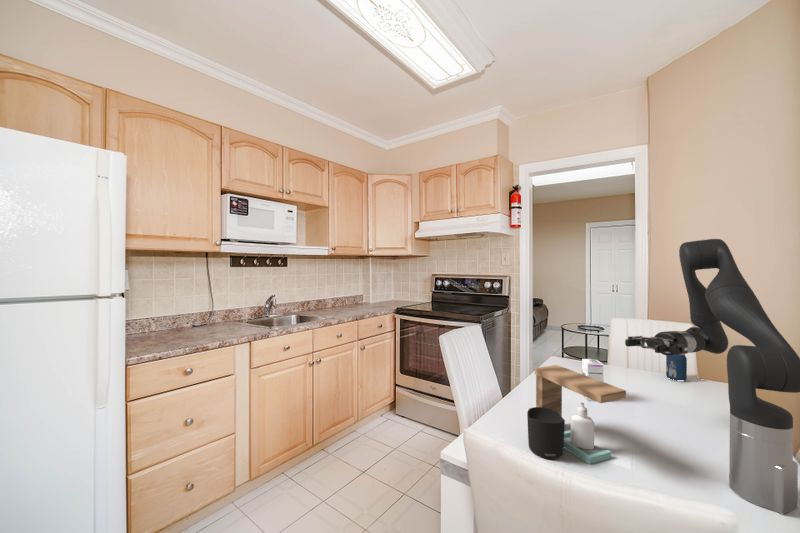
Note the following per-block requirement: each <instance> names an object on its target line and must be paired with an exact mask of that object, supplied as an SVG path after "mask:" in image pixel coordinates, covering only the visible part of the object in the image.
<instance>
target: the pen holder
mask: <svg viewBox="0 0 800 533" xmlns="http://www.w3.org/2000/svg"><path fill="white" fill-rule="evenodd" d="M526 416H527V437H528V439H527V440H528V448H529V450H530V451H531V452H532V453H533V454H534V455H536V456H538V457H540V458H543V459H544V460H545V459H546V460H551V461H552V460H558V459H560V458H561V457H563V454H564V432H565V425H566V424H565V422H566V421H565V420H566V419H564V418H563V416H562V417H561V415H560V414H559V413H558V412H556V411H555V410H552V409H549V408H544V407H536V406H534V407H530V408H528V410H527V415H526Z"/></svg>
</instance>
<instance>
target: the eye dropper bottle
mask: <svg viewBox="0 0 800 533" xmlns="http://www.w3.org/2000/svg"><path fill="white" fill-rule="evenodd" d="M576 409H577V414H573V415H571V417H570V430H571V443H572V445H574V446H575V447H578V448H583V449H594V445H595V422H594V420H593V418H591V416H590V417H589V416H588V408H587V407H585V403H584V402H580V404H579V406H577V408H576Z"/></svg>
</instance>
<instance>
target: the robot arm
mask: <svg viewBox="0 0 800 533" xmlns="http://www.w3.org/2000/svg"><path fill="white" fill-rule="evenodd" d="M678 249H679V250H678V251H679V252H678V254H679V262H680V266H681V272H682V276H683V281H684V285H685V288H686V292H687V297H688V302H689V315H690V316H689V317H690V322H691V324H692V325H693V326H692V327H689V328H687V329H685V330H669V331H668V330H667V331H666V330H665V331H660V332H657V333H656V334H655V335H654V336H643V335H637V336H635V335H633V336H630V335H629V336H628V337H627V338H626V339H625V340H624V344H625V346H626V347H640V348H642V349H648V350H649V349H650V350H653V351H654V352H655V353H656V354H662V355H664V356H666V355H667V356H673V355H682V354H685V355H686V354H690V353H692V354H693V353H697V352H701V351H705V352H708V353H711V354H716V355H720V354H723V353H724V352H726V351H727V349H728V348H729V349H728V351H727V355H726V372H727V383H728V384H727V385H728V386H727V388H728V389H727V390H728V391H727V392H728V400H729V401H728V402H729V455H728V456H729V461H728V463H729V465H728V467H729V470H728V471H729V474H728V476H729V477H728V480H729V483H728V484H729V488H730V489H731V491H733V492H734V494H736V495H738V496H739V497H740V498H742V499H744V500H746V501H748V502H749V503H752V504H754V505H757V506H760V507H762V508H765V509H768V510H771V511H774V512H777V513H778V514H781V515H784V514H787V513H788V512H791V511H793V510H794V509H796V508H798V498H799V497H798V486H799V485H798V484H799V483H798V480H799V479H798V478H799V476H798V475H799V474H798V473H799V472H798V471H799V467H798V466H799V465H798V462H797V461H794V460H793V459H794V457H793V456H794V417H793V415H792V413H791V412H790V411H788V410H787V409H785V408H783V407H782V406H779V405H778V404H775V403H771V402H769V401H766V400H765V399H761V398H760V397H758V394H757V390H763V391H764V390H766V391H771V392H778V393H779V392H780V393H791V394H794V393H795V394H797V393H800V356H799V355H798V354H797V351H795V349H794V348H793V347H792V346H791V344H790V343H789V342H788V341H787V340H786V339H785V338H784V336H783V335H782V333H781V332H780V331H779V330H778V329H777V327H776V326H775V325H774V323H773V322H772V321H771V318H770V317H769V315H768V314H767V313H766V311H765V309H764V308H763V306H762V304H761V302H760V300H759V299H758V298H757V296H756V294H755V292H754V291H753V289H752V288H751V286H750V285H749V284H748V282H747V280H746V279H745V277H744V276H743V275H742V273H741V271H740V269H739V267H738V265H737V263H736V261H735V259H734V257H733V253H732V252H731V250H730V248H729V245H728V244H727V243H726V242H725V241H724V240H723V239H720V238H709V239H701V240H693V241H692V240H691V241H686V242H683V243H681V244H680V245H679V248H678ZM711 269H718V272H717V274H716V275H715V276H714V277H713V279H712V280H711V281H710V283H709V284H708V285H707V287H705V286H704V285H703V283H702V282H701V281H700V280H699V278H698V276H697V273H696V271H700V270H711ZM722 323H723V324H724V325H725V326H727V327H728V328H730V329H731V330H732V331H735V332H736V333H738V334H739V335H741V336H743V337H744V338H746V339H747V340H748V341H749V342H750V343H752V344H753V345H745V344H744V345H743V344H737V345H735V344H734V345H732V346H731V347H729V337H728V336H727V334H726V332H725V329H724V327H723V326H722ZM645 344H646V345H645Z"/></svg>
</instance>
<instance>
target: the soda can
mask: <svg viewBox="0 0 800 533" xmlns="http://www.w3.org/2000/svg"><path fill="white" fill-rule="evenodd" d="M665 358H666V360H665V362H666V363H665V364H666V365H665V369H666V370H665V375H666V377H667V379H668V378H670V379H674V380H685V381H686V380H687V376H688V373H687V372H688V371H687V370H688V368H687V367H688V365H687V364H688V358H687V356H686V354H682V355H673V356H667V355H665ZM670 379H669V380H670Z"/></svg>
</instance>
